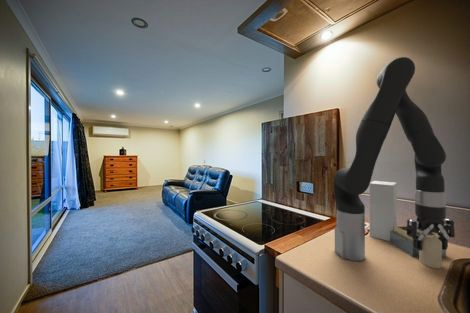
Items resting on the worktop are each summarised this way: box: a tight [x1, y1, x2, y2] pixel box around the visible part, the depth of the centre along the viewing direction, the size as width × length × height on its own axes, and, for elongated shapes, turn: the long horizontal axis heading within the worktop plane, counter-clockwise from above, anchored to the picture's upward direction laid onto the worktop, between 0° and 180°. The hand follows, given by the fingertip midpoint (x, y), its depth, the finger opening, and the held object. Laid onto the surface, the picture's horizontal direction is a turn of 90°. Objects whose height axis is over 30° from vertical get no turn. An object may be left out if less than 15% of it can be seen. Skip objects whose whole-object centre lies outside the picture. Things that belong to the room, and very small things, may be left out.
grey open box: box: [389, 225, 447, 258], centre depth 76 cm, size 12×11×8 cm
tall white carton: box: [369, 180, 398, 242], centre depth 88 cm, size 9×9×25 cm
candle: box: [418, 234, 443, 269], centre depth 67 cm, size 6×6×10 cm
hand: (430, 249), depth 67 cm, fingers open, 8 cm apart
